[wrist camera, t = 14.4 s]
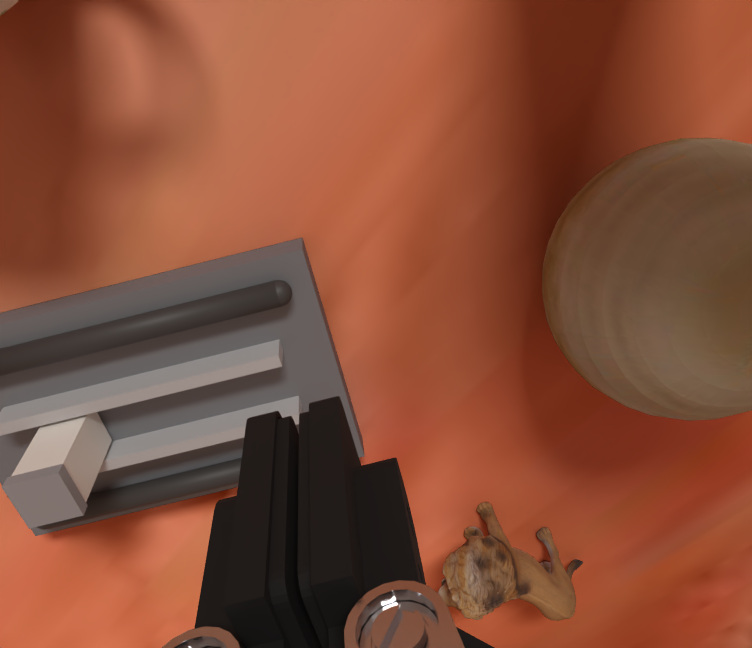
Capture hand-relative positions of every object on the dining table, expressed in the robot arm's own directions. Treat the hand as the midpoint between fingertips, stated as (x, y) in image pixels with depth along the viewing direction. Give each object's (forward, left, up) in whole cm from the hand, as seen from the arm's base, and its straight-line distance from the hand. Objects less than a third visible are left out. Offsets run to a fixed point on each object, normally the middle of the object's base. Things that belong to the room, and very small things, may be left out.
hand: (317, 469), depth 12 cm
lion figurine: (-7, +35, -29) cm, 46 cm away
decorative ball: (-18, +11, -29) cm, 36 cm away
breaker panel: (+14, +14, -29) cm, 35 cm away
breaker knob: (+19, +14, -27) cm, 36 cm away
